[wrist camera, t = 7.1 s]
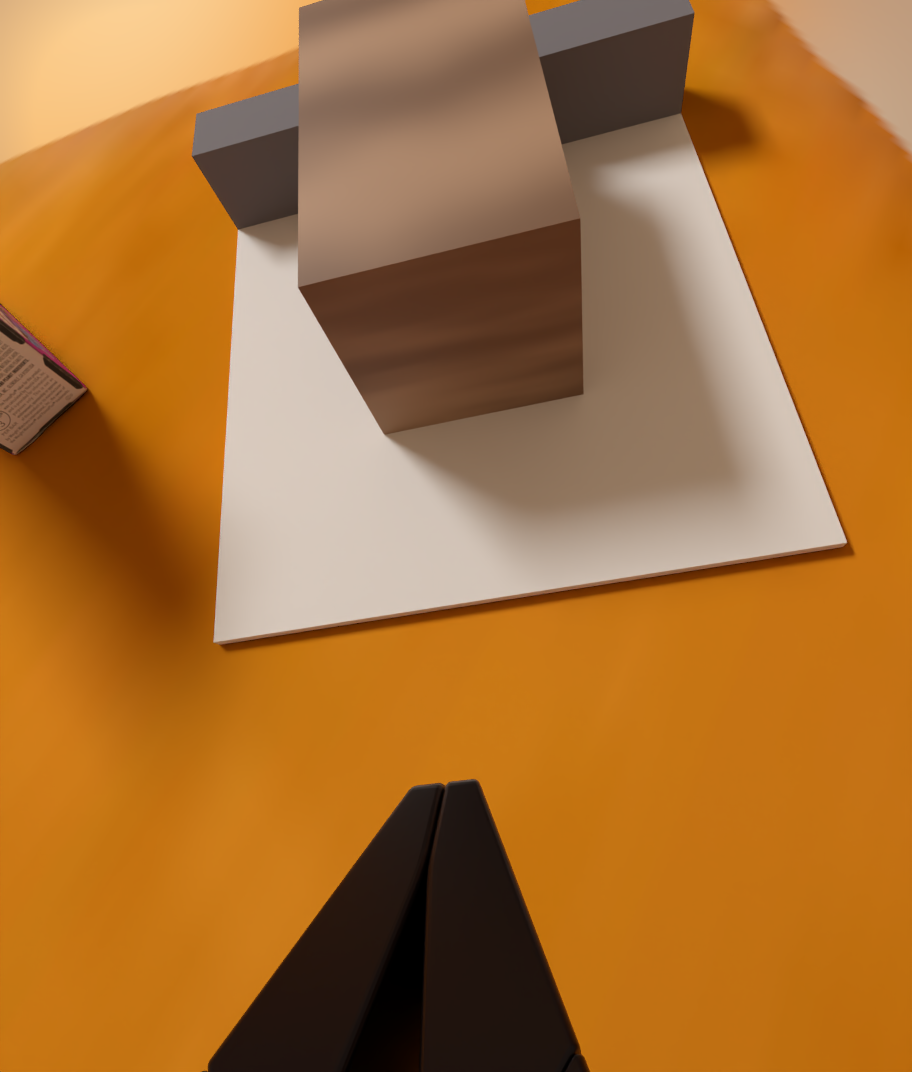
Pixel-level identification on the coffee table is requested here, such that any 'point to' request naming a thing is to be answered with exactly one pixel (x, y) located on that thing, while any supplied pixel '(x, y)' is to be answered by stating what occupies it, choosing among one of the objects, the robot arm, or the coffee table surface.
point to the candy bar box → (30, 386)
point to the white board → (525, 432)
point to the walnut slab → (436, 208)
